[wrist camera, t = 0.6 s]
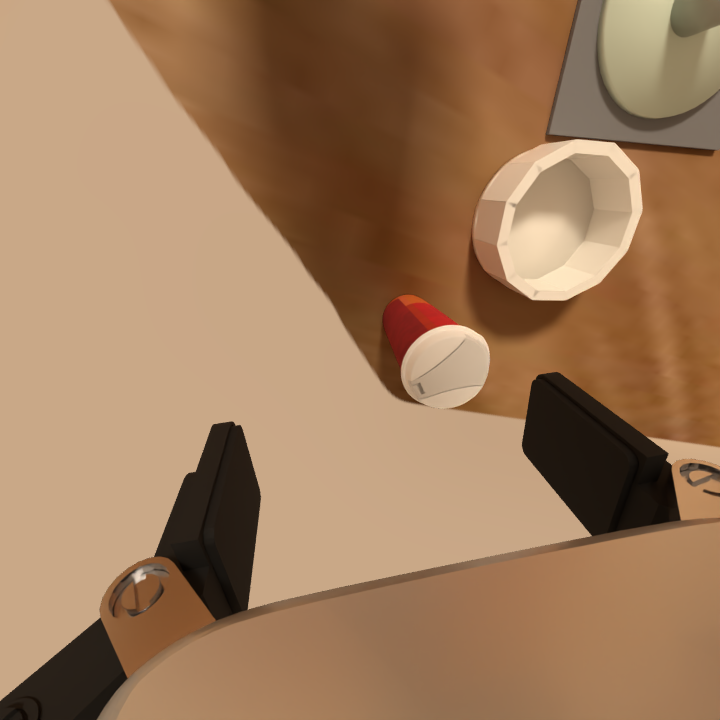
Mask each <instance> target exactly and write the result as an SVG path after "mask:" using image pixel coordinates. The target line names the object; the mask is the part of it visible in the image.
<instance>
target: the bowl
mask: <svg viewBox="0 0 720 720" xmlns="http://www.w3.org/2000/svg"><path fill="white" fill-rule="evenodd" d="M642 210H643V209H642V198H641V186H640V175H639V169H638V168H637V167H636V166H635V165H634V164H633V163H632V161H631V160H630V159H629V158H628V157H627V156H626V155H625V153H624V152H623V151H622V150H621V149H620V148H619V147H618V146H617V144H616V143H612V142H601V141H590V140H579V139H575V140H568V141H562V142H555V143H549V144H542V145H539V146H538V147H536V148H534V149H531V150H528V151H525V152H523V153H521V154H519V155H517V156H516V157H514V158H512V159H511V160H509V161H508V162H507V163H506V164H504V165H503V166H502V167H501V168H500V169H499V170H498V171H497V172H496V173H495V174H494V176H493V177H492V178H491V179H490V181H489V182H488V184H487V185H486V187H485V188H484V190H483V192H482V194H481V196H480V198H479V200H478V203H477V206H476V209H475V213H474V217H473V223H472V242H473V247H474V251H475V254H476V257H477V259H478V261H479V263H480V265H481V266H482V268H483V269H484V270H485V271H486V272H487V273H488V274H489V275H490V276H491V277H493V278H494V279H496V280H498V281H499V282H501V283H502V284H503V285H505V286H506V287H508V288H510V289H512V290H514V291H516V292H518V293H520V294H522V295H524V296H525V297H527V298H529V299H531V300H567V299H569V298H571V297H573V296H575V295H577V294H579V293H581V292H583V291H585V290H587V289H589V288H591V287H593V286H595V285H597V284H599V283H600V282H601V281H602V280H603V278H604V277H605V276H606V275H607V274H608V273H609V272H610V270H611V269H612V268H613V267H614V266H615V265H616V264H617V262H618V261H619V260H620V259H621V258H622V257H623V255H624V254H625V253H626V252H627V251H628V248H629V246H630V243H631V240H632V237H633V235H634V232H635V229H636V227H637V224H638V221H639V218H640V216H641V213H642Z"/></svg>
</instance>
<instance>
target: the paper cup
mask: <svg viewBox="0 0 720 720" xmlns="http://www.w3.org/2000/svg"><path fill="white" fill-rule="evenodd" d="M383 326H384V329H385V332H386V335H387V337H388V340H389V342H390V345H391V347H392V349H393V352H394V354H395V357H396V359H397V362H398V364H399V366H400V369H401V378H402V383H403V385H404V388H405V389H406V391H407V393H408V394H409V395H410V396H411V397H412V398H414V399H415V400H416V401H418V402H420V403H423V404H425V405H427V406H429V407H433V408H438V409H447V408H453V407H457V406H459V405H462V404H464V403H465V402H467V401H469V400H470V399H472V398H473V397H474V396H475V395H476V394H477V393H478V392H479V391H480V390H481V388H482V387H483V385H484V383H485V380H486V377H487V375H488V370H489V364H490V356H489V353H490V352H489V348H488V345H487V343H486V341H485V339H484V338H483V336H481V335H479V334H478V333H476V332H475V331H473V330H471V329H469V328H467V327H464V326H460V325H458V324H457V323H456V322H454V321H453V320H451V319H450V318H449V317H447V316H446V315H444V314H443V313H442V312H440V311H439V310H437V309H436V308H435V307H433V306H432V305H430V304H429V303H427V302H426V301H424V300H423V299H421V298H419V297H417V296H415V295H402V296H399V297H397V298H395V299H393V300H392V301H391V302H390V303H389V304H388V305H387V307H386V309H385V311H384V314H383Z"/></svg>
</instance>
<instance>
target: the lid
mask: <svg viewBox="0 0 720 720" xmlns="http://www.w3.org/2000/svg"><path fill="white" fill-rule="evenodd" d="M597 51H598V62H599V67H600V73H601V76H602V79H603V82H604V85H605V87H606V89H607V91H608V93H609V95H610V96H611V98H612V99H613V100H614V102H615V103H616V104H617V105H618V106H619V107H620V108H621V109H623V110H624V111H626V112H627V113H628V114H631V115H633V116H636V117H639V118H644V119H658V118H665V117H670V116H675V115H678V114H681V113H684V112H687V111H689V110H691V109H693V108H695V107H697V106H698V105H700V104H701V103H703V102H705V101H706V100H707V99H709V98H710V97H711V96H712V95H714V94H715V93H716V92H717V91H718V90H719V89H720V0H603V3H602V7H601V12H600V17H599V25H598V36H597Z"/></svg>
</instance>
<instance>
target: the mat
mask: <svg viewBox="0 0 720 720" xmlns="http://www.w3.org/2000/svg"><path fill="white" fill-rule="evenodd" d="M602 3H603V0H578V3H577V7H576V11H575V15H574V20H573V24H572V28H571V32H570V36H569V40H568V45H567V49H566V53H565V57H564V61H563V65H562V69H561V74H560V78H559V82H558V86H557V90H556V94H555V99H554V103H553V107H552V111H551V115H550V119H549V124H548V128H547V132H546V135H556V136H567V137H578V138H588V139H599V140H610V141H620V142H631V143H642V144H652V145H663V146H674V147H684V148H695V149H706V150H719V149H720V89H719V90H718V91H717V92H716V93H715V94H714V95H712V96H711V97H710V98H709V99H707V100H706V101H705V102H703V103H701V104H700V105H698V106H697V107H695V108H693V109H691V110H689V111H687V112H684V113H681V114H678V115H675V116H670V117H665V118H658V119H644V118H639V117H636V116H633V115H631V114H628V113H627V112H626V111H624V110H623V109H621V108H620V107H619V106H618V105H617V104H616V103H615V102H614V100H613V99H612V98H611V96H610V95H609V93H608V91H607V89H606V87H605V85H604V82H603V79H602V76H601V73H600V67H599V62H598V51H597V36H598V25H599V17H600V12H601V7H602Z"/></svg>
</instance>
